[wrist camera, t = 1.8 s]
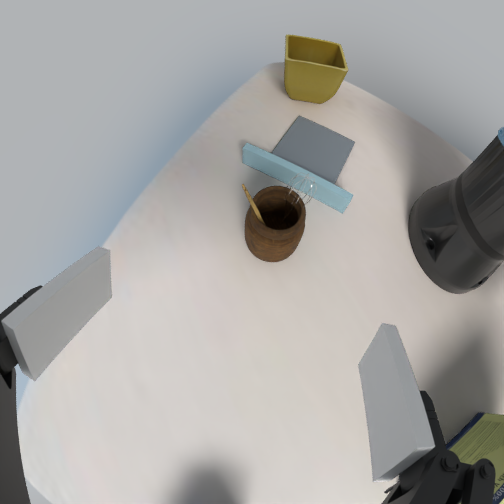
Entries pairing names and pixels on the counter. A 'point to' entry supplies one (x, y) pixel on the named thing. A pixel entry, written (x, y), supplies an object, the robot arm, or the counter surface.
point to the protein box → (483, 446)
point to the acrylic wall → (288, 170)
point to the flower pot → (313, 68)
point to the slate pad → (315, 149)
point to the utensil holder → (275, 222)
